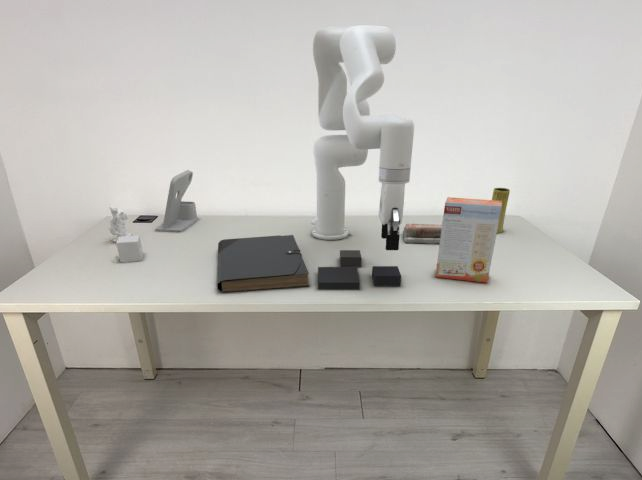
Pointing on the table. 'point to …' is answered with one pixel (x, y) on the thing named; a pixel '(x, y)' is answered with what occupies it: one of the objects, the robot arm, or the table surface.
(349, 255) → the grey pad
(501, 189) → the vase
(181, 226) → the phone holder
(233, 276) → the dark grey book
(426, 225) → the packaged product
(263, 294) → the table surface
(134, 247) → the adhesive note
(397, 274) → the charcoal pad
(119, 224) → the white figurine
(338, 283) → the base pad
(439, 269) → the cracker box
